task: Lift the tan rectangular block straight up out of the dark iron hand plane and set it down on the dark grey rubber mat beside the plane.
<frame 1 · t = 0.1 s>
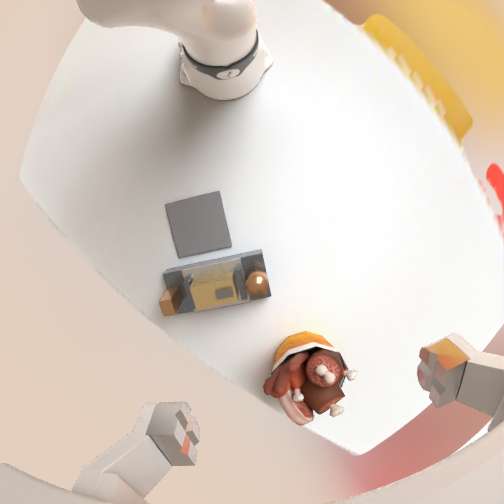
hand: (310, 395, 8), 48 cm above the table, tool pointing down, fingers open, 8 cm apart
fried chicken: (299, 349, 63), on the table
tan rectangular block: (216, 286, 54), point 4 cm above the table, touching hand plane
hand plane: (218, 280, 58), on the table
mat: (198, 224, 55), on the table
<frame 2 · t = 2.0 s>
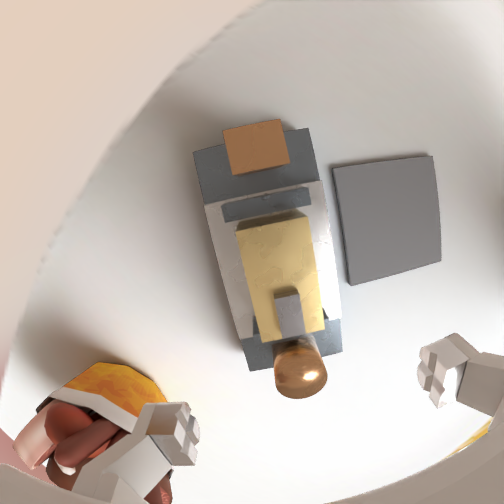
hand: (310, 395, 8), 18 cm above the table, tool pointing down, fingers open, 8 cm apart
fried chicken: (130, 391, 30), on the table
tan rectangular block: (278, 266, 22), point 4 cm above the table, touching hand plane
hand plane: (274, 254, 25), on the table
mat: (393, 217, 24), on the table
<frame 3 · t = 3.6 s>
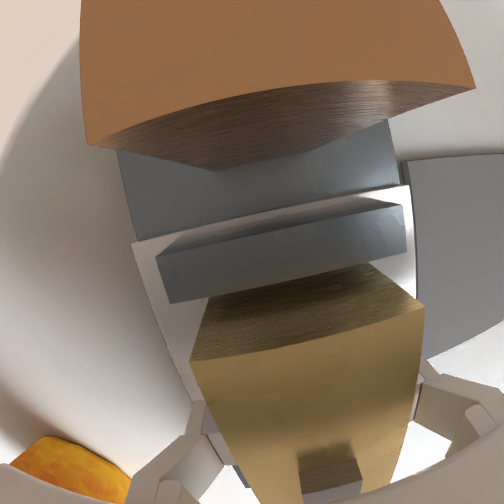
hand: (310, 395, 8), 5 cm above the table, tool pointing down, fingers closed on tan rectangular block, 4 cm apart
fried chicken: (91, 467, 17), on the table
tan rectangular block: (304, 371, 9), point 4 cm above the table, touching gripper, hand plane
hand plane: (291, 324, 13), on the table
mat: (481, 250, 12), on the table
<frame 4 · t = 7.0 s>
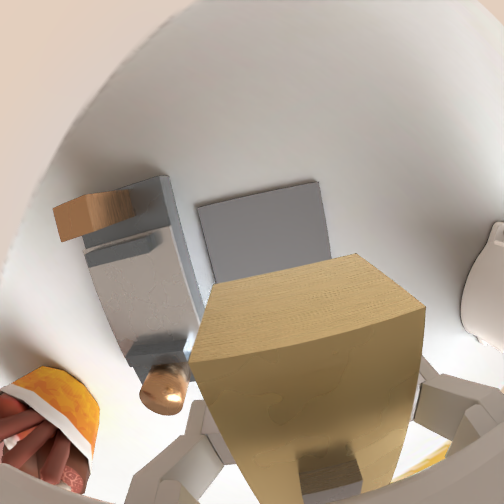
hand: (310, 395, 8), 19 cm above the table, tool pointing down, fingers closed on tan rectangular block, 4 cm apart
fried chicken: (70, 392, 32), on the table
tan rectangular block: (304, 371, 9), point 17 cm above the table, touching gripper
hand plane: (154, 286, 27), on the table
mat: (270, 251, 26), on the table
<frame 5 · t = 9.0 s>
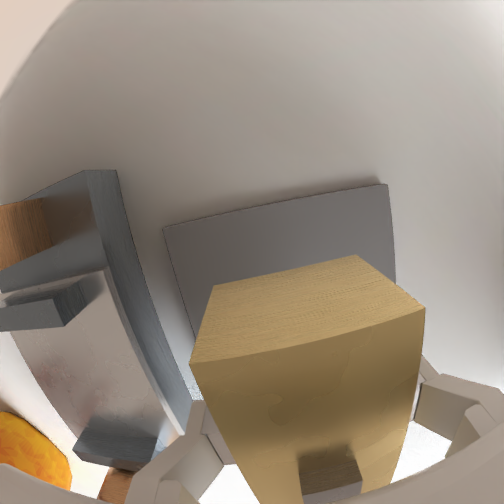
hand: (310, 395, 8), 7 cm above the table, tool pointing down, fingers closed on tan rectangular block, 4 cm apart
fried chicken: (36, 440, 20), on the table
tan rectangular block: (304, 372, 9), point 5 cm above the table, touching gripper
hand plane: (106, 349, 15), on the table
mat: (296, 307, 15), on the table
when the fingers open (4 cm above the table, at t = 10.5 s): tan rectangular block drops 2 cm, resting on mat.
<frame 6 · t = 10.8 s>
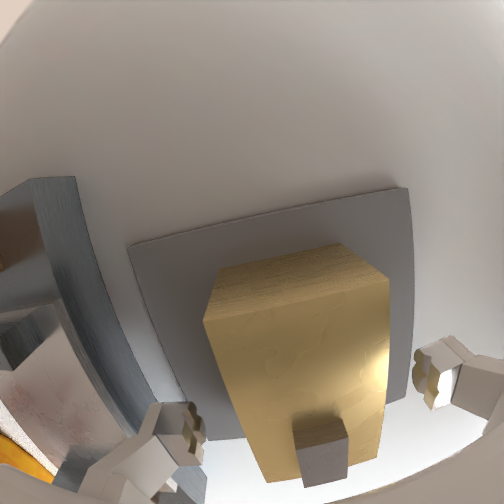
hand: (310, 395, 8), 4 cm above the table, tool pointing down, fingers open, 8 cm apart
fried chicken: (25, 459, 17), on the table
tan rectangular block: (297, 347, 11), point 1 cm above the table, touching mat
hand plane: (80, 380, 12), on the table
mat: (294, 339, 12), on the table
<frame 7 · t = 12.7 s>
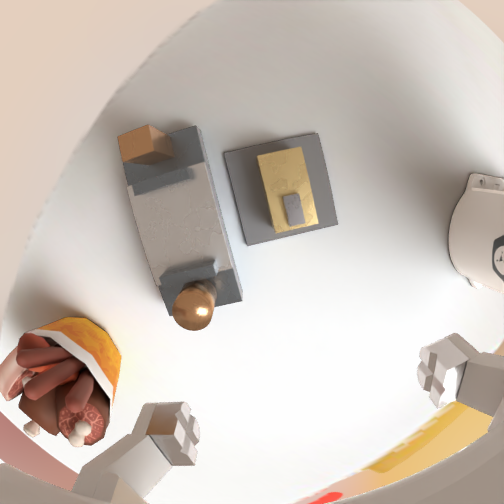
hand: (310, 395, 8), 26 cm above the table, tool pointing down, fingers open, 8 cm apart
fried chicken: (92, 344, 37), on the table
tan rectangular block: (283, 188, 31), point 1 cm above the table, touching mat
hand plane: (184, 221, 33), on the table
mat: (282, 188, 32), on the table
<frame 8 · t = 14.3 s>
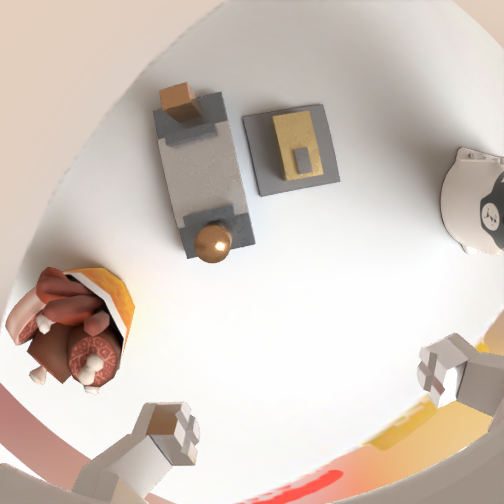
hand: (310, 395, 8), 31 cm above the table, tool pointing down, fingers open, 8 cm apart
fried chicken: (105, 297, 41), on the table
tan rectangular block: (293, 148, 35), point 1 cm above the table, touching mat
hand plane: (205, 174, 36), on the table
mat: (292, 148, 36), on the table
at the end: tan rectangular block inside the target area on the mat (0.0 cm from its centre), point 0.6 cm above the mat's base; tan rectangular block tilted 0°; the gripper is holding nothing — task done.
